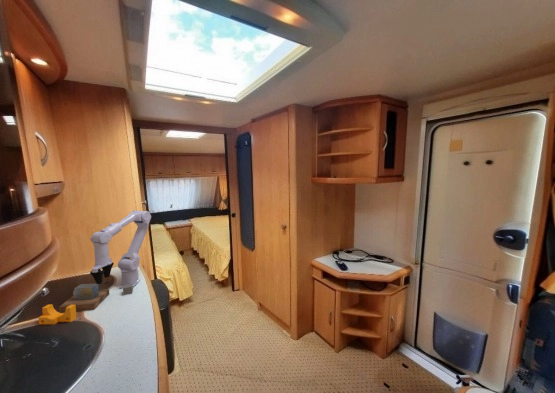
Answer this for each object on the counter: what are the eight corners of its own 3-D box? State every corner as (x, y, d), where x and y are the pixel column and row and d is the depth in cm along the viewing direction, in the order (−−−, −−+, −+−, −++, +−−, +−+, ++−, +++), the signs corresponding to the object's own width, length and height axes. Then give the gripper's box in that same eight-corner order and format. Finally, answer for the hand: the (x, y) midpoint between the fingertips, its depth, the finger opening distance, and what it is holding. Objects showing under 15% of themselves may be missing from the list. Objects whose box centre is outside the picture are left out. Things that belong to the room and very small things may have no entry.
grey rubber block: (124, 292, 122) (123, 285, 122) (132, 290, 124) (132, 283, 124) (123, 295, 119) (122, 288, 118) (132, 293, 120) (131, 286, 120)
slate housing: (79, 295, 112) (78, 284, 112) (98, 294, 113) (98, 283, 113) (72, 300, 108) (71, 288, 107) (92, 299, 109) (91, 287, 108)
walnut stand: (78, 297, 116) (78, 291, 116) (109, 294, 119) (108, 289, 119) (59, 313, 102) (58, 307, 102) (94, 309, 106) (94, 303, 105)
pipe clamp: (39, 324, 95) (37, 310, 94) (49, 318, 99) (48, 304, 99) (67, 324, 95) (66, 310, 94) (76, 318, 99) (75, 304, 99)
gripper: (103, 259, 108) (104, 286, 109) (117, 249, 122) (118, 273, 123) (86, 260, 106) (88, 287, 107) (102, 250, 120) (103, 274, 122)
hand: (103, 280), depth 115 cm, fingers open, 7 cm apart
